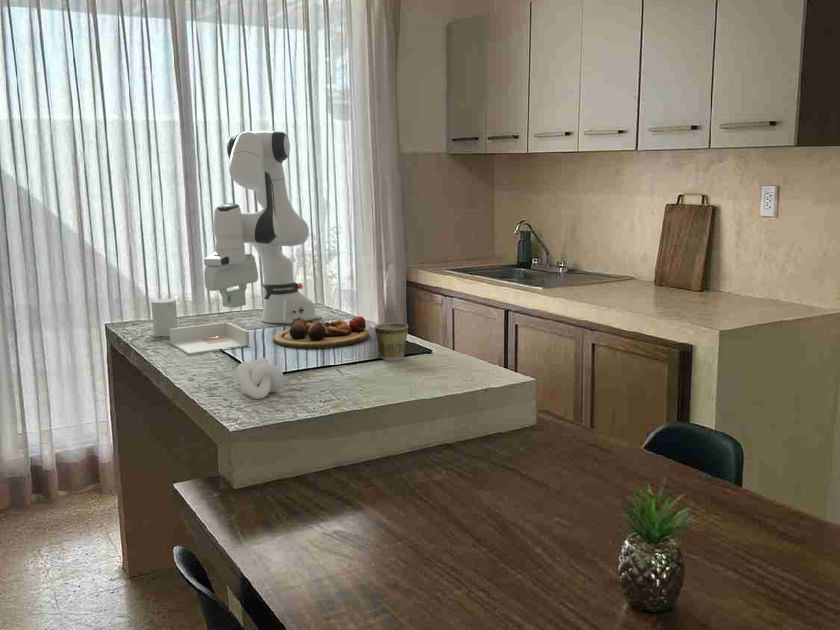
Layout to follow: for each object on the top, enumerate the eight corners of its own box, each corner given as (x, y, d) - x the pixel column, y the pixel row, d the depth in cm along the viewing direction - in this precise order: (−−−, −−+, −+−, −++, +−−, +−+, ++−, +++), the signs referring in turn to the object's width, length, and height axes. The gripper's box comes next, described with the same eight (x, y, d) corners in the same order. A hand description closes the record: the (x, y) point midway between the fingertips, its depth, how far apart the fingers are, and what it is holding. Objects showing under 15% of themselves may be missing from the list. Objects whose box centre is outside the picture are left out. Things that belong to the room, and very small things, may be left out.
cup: (174, 336, 284) (171, 302, 282) (150, 337, 284) (147, 302, 282) (181, 331, 292) (178, 298, 290) (158, 332, 292) (155, 298, 290)
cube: (234, 303, 262) (233, 288, 261) (245, 304, 259) (244, 289, 258) (222, 306, 258) (221, 290, 257) (234, 307, 255) (233, 291, 254)
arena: (228, 335, 284) (227, 321, 283) (249, 346, 267) (248, 331, 266) (170, 343, 273) (169, 328, 272) (188, 354, 257) (187, 339, 256)
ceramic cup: (404, 363, 242) (404, 329, 240) (372, 362, 244) (371, 328, 242) (414, 352, 254) (413, 321, 252) (382, 351, 256) (381, 320, 254)
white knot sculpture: (287, 388, 217) (286, 355, 216) (281, 401, 205) (279, 366, 204) (244, 389, 217) (242, 356, 215) (236, 402, 205) (233, 367, 203)
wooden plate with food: (375, 330, 291) (374, 307, 290) (360, 349, 260) (358, 324, 258) (287, 331, 294) (286, 309, 293) (261, 351, 263) (259, 325, 262)
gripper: (246, 252, 266) (249, 294, 268) (199, 260, 248) (203, 305, 251) (261, 253, 262) (264, 295, 265) (214, 261, 245) (218, 306, 248)
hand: (233, 300), depth 258 cm, fingers closed on cube, 5 cm apart
